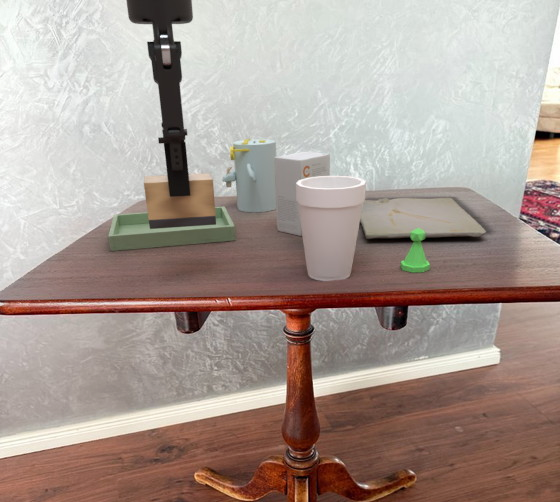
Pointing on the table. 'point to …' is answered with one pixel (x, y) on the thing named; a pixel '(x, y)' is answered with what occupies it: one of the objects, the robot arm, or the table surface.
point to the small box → (286, 178)
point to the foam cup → (330, 223)
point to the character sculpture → (253, 174)
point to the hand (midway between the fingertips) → (179, 190)
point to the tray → (166, 232)
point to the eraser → (180, 202)
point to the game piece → (416, 254)
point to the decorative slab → (417, 218)
